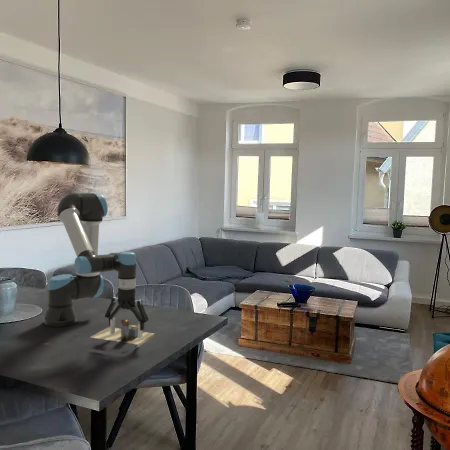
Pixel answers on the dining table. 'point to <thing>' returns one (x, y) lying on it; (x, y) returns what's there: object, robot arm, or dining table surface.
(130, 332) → the block
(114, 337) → the board
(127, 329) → the metal cylinder
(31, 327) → the dining table surface
